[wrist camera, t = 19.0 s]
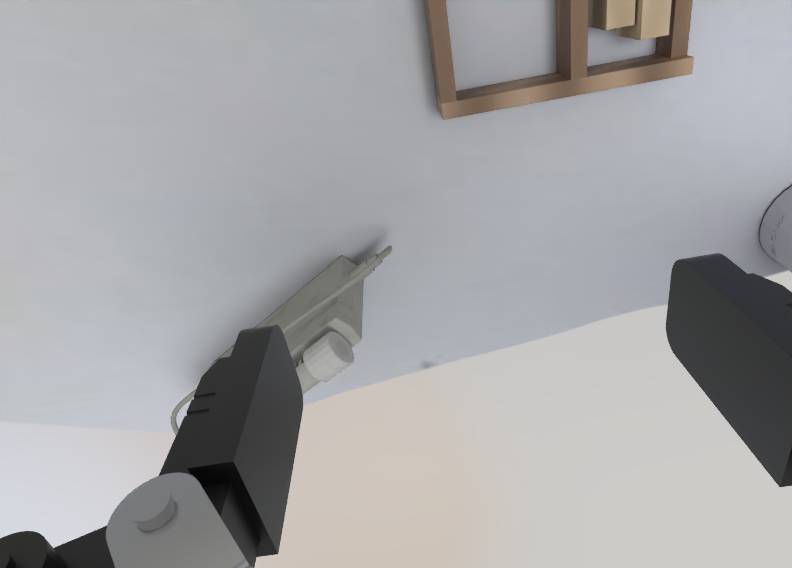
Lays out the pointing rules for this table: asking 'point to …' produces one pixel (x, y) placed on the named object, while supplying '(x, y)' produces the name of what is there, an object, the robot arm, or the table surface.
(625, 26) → the offcut stack
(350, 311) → the geiger counter
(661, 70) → the storage rack
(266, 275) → the table surface
